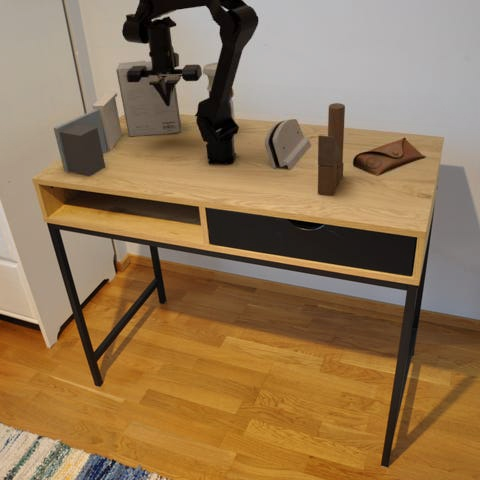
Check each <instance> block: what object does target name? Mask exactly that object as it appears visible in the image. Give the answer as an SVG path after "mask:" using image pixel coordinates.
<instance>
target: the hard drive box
mask: <svg viewBox="0 0 480 480" xmlns="http://www.w3.org/2000/svg"><path fill="white" fill-rule="evenodd" d="M133 66H146V68H147V70H151V69H152V62H151V59H149V60H147V59H146V60H140V61H139V60H137V61H129V62H120V63H119V64H118V65H117V66H116V67H117V68H116V69H115V71H116V75H117V80H118V82H117V83H118V84H119V85H118V87H119V91H120V92H119V93H120V97H121V102H122V108H123V111H124V112H123V113H124V117H125V123H126V128H127V135H128V137H142V136H143V137H144V136H152V135H169V134H176V133H177V134H178V133H180V132H181V129H182V123H181V115H180V108H179V101H178V94H177V86H176V85H177V84H176V85H175V86H174V90H173V94H172V99H171V104H170V106H166V104H165V103H164V101H163V99H162V98H161V96H160V94H159V93H158V92H157V90H156V89H155V88H154V86H153V85H149V82H150V78H149V77H141V80H140V81H139V82H127V76H126V75H127V72H128V70H129V69H131V68H132V67H133ZM157 74H159V73H157ZM160 74H162V73H160ZM167 80H168V79H167V77H165V83H166V81H167Z"/></svg>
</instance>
